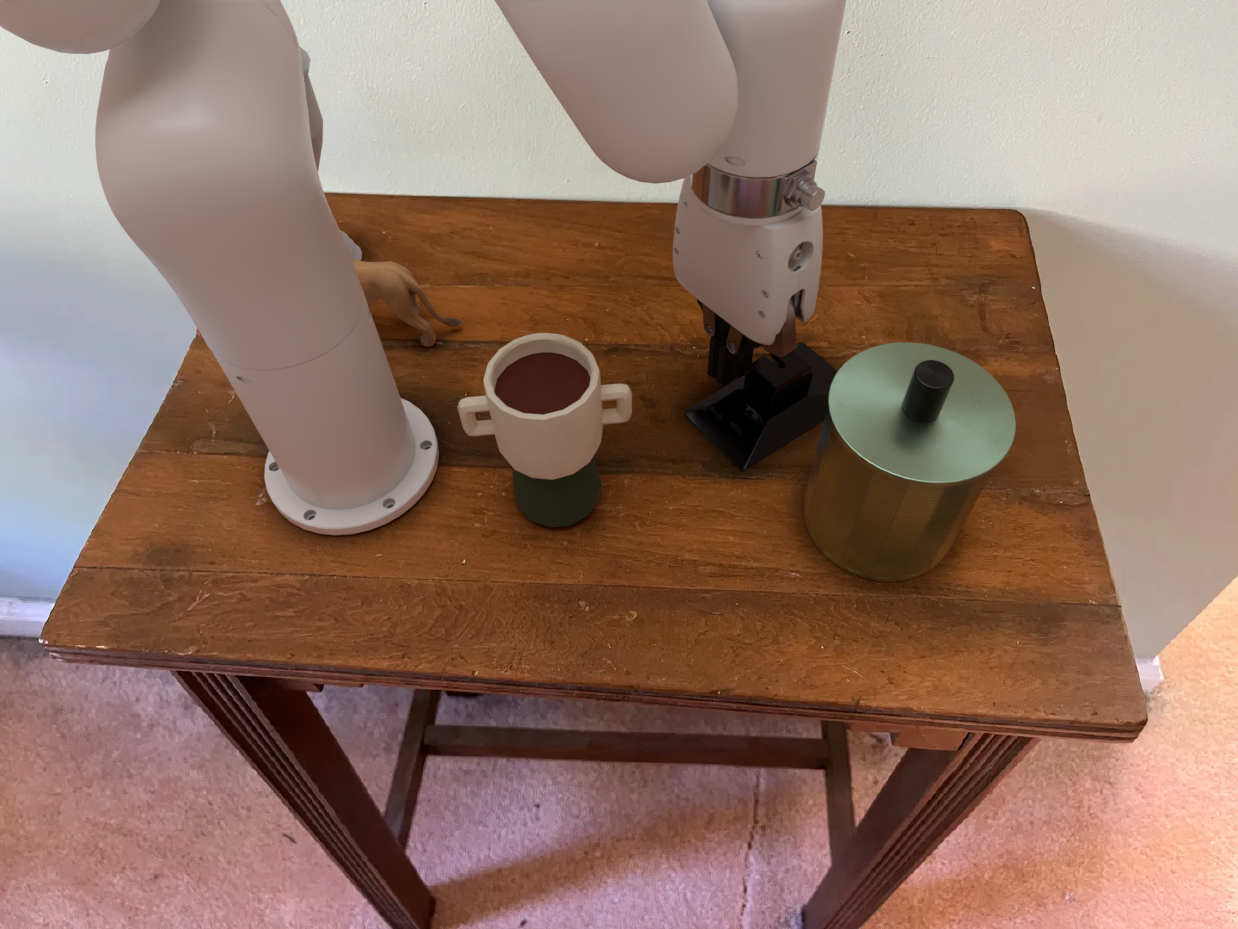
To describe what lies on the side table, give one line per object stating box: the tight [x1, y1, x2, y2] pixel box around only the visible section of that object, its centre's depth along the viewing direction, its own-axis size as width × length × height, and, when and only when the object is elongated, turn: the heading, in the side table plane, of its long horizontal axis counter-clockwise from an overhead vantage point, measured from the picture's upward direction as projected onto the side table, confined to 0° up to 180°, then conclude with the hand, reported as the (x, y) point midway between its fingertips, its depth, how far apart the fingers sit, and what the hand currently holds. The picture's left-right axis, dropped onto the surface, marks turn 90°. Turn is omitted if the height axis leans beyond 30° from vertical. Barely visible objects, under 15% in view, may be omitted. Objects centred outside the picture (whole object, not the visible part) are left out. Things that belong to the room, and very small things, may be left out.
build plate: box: [683, 341, 838, 473], centre depth 65 cm, size 12×7×5 cm, turn 126°
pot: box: [803, 410, 994, 583], centre depth 56 cm, size 10×10×12 cm
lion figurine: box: [351, 259, 462, 348], centre depth 70 cm, size 15×5×9 cm, turn 88°
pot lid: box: [827, 341, 1017, 487], centre depth 50 cm, size 11×11×4 cm
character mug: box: [456, 332, 633, 529], centre depth 57 cm, size 11×7×13 cm, turn 96°
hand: (728, 371), depth 67 cm, fingers closed
